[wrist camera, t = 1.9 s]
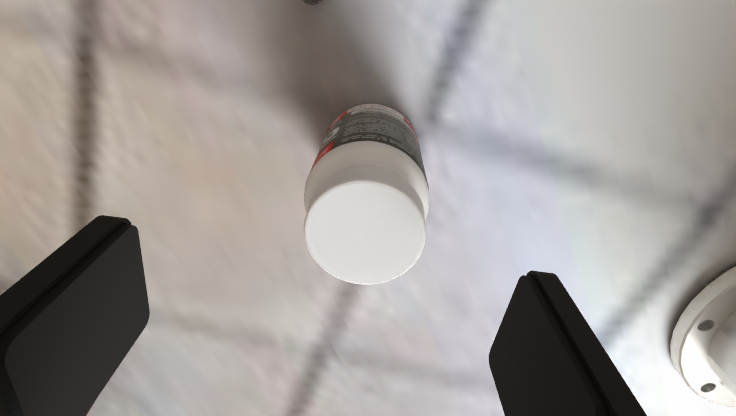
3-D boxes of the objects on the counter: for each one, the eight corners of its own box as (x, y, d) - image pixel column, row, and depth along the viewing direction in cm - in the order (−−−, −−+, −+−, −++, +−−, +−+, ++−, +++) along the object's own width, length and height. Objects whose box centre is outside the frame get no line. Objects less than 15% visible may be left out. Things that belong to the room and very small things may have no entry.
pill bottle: (326, 97, 19) (288, 159, 12) (424, 106, 19) (448, 173, 12) (323, 187, 22) (290, 286, 14) (412, 195, 22) (425, 299, 14)
